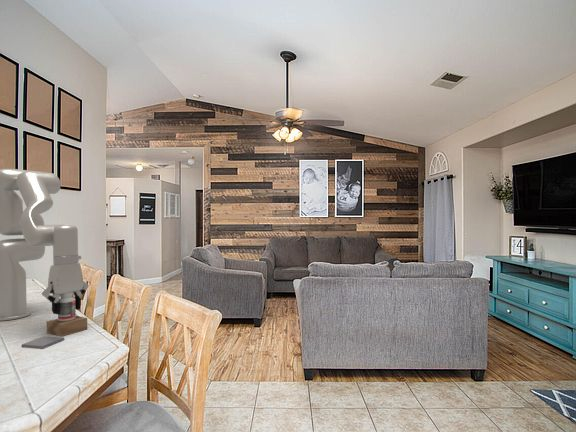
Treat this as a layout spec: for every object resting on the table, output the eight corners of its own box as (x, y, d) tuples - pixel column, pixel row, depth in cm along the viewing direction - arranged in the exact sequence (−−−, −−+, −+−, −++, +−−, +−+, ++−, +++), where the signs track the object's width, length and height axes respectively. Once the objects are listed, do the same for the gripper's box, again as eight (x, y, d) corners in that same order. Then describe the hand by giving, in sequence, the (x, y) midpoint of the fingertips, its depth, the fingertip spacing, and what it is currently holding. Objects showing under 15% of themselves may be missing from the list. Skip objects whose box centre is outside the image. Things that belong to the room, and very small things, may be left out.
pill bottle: (76, 320, 129) (75, 292, 129) (58, 322, 126) (57, 294, 126) (75, 316, 134) (74, 289, 134) (57, 318, 131) (57, 291, 131)
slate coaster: (21, 346, 114) (21, 344, 114) (44, 338, 122) (44, 336, 122) (42, 348, 112) (42, 346, 112) (64, 340, 120) (64, 337, 120)
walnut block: (46, 332, 128) (46, 321, 128) (72, 325, 136) (72, 315, 136) (61, 336, 124) (61, 324, 124) (87, 329, 132) (87, 317, 132)
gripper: (83, 257, 139) (84, 304, 139) (33, 263, 124) (34, 316, 124) (95, 258, 136) (96, 306, 136) (45, 264, 120) (46, 318, 120)
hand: (66, 310), depth 130 cm, fingers open, 6 cm apart
